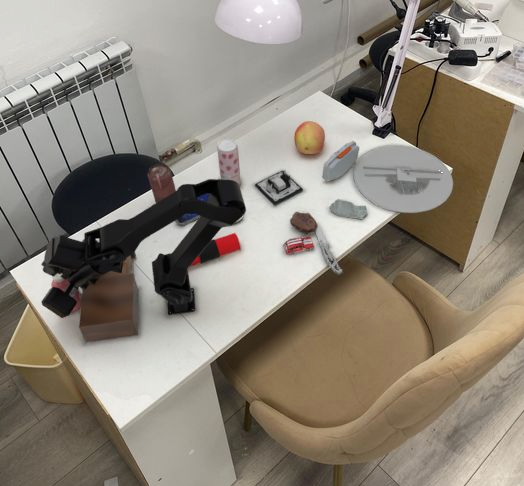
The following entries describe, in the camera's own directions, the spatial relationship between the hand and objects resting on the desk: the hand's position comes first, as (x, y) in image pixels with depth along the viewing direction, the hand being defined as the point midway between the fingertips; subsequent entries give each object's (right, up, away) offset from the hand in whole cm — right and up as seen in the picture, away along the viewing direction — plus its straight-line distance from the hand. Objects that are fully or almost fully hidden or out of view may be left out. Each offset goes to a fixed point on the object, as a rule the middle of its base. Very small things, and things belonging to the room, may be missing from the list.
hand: (61, 285), depth 128 cm
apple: (+60, +34, +35) cm, 77 cm away
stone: (+56, +12, +21) cm, 61 cm away
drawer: (+10, +1, +9) cm, 14 cm away
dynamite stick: (+40, +9, +14) cm, 44 cm away
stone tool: (+71, +19, +24) cm, 77 cm away
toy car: (+56, +7, +15) cm, 58 cm away
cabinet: (+12, -7, +2) cm, 14 cm away
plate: (+87, +26, +32) cm, 96 cm away
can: (+21, +17, +26) cm, 37 cm away
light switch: (+48, +27, +32) cm, 64 cm away
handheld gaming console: (+70, +27, +34) cm, 82 cm away
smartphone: (+29, +17, +26) cm, 42 cm away
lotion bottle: (+1, -5, +5) cm, 7 cm away
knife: (+65, +8, +14) cm, 67 cm away
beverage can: (+38, +24, +32) cm, 55 cm away
